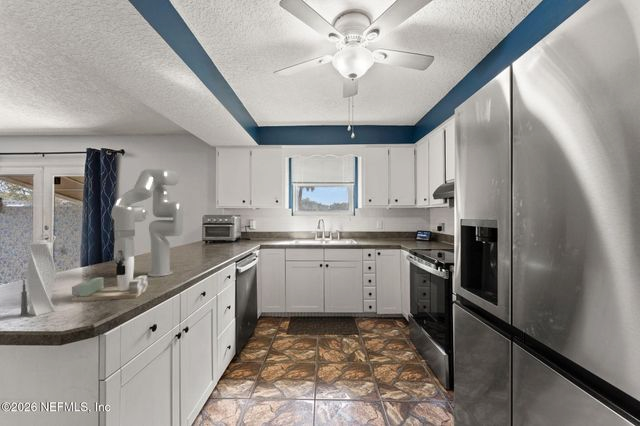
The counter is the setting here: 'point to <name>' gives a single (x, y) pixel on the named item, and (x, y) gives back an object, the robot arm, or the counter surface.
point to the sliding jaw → (88, 287)
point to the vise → (117, 291)
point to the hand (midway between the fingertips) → (125, 272)
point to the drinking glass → (126, 275)
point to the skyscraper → (39, 279)
